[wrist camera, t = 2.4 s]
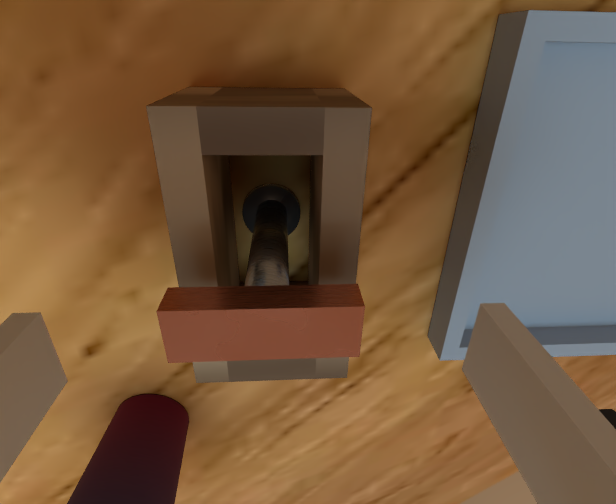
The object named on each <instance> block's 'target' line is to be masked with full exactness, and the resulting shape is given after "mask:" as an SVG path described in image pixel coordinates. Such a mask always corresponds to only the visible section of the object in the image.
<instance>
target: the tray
mask: <svg viewBox="0 0 616 504" xmlns="http://www.w3.org/2000/svg"><path fill="white" fill-rule="evenodd" d="M480 303H505V304H506V305H507V307H508V308H509V309H510V310H511V311H512V312H513V313H514V314H515V316H516V317H517V318H518V319H519V320H520V321H521V322H522V324H523V325H524V326H525V327H526V328H527V329H528V330H529V332H530V333H531V334H532V335H533V336H534V337H535V338H536V339H537V341H538V342H539V343H540V344H541V345H542V346H543V347H544V349H545V350H546V351H547V352H548V353H549V354H550V355H551V356H552V357H559V356H588V355H616V12H579V11H539V10H527V11H520V12H513V13H506V14H499V18H498V22H497V27H496V31H495V36H494V40H493V45H492V49H491V54H490V58H489V63H488V67H487V72H486V76H485V81H484V85H483V90H482V94H481V99H480V103H479V108H478V112H477V117H476V121H475V125H474V130H473V134H472V139H471V143H470V148H469V152H468V157H467V161H466V166H465V170H464V175H463V179H462V184H461V188H460V193H459V197H458V202H457V206H456V211H455V215H454V220H453V224H452V229H451V233H450V238H449V242H448V247H447V251H446V256H445V260H444V265H443V269H442V274H441V278H440V283H439V287H438V292H437V296H436V301H435V305H434V310H433V314H432V318H431V323H430V327H429V332H428V338H429V340H430V342H431V344H432V346H433V348H434V350H435V352H436V354H437V356H438V358H439V360H465V356H466V353H467V349H468V346H469V342H470V338H471V335H472V331H473V328H474V324H475V321H476V317H477V314H478V310H479V307H480Z"/></svg>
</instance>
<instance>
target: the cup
mask: <svg viewBox="0 0 616 504" xmlns="http://www.w3.org/2000/svg"><path fill="white" fill-rule="evenodd" d="M188 424H189V417H188V414H187V412H186V410H185V409H184V407H183V406H181V405H180V404H179V403H178V402H176V401H175V400H172V399H170V398H168V397H165V396H161V395H155V394H144V395H137V396H134V397H131V398H129V399H127V400H126V401H124V402H123V403H122V404H121V405H120V406H119V408H118V410H117V411H116V413H115V415H114V417H113V419H112V421H111V423H110V425H109V426H108V428H107V430H106V432H105V434H104V436H103V438H102V439H101V441H100V443H99V445H98V447H97V449H96V451H95V453H94V454H93V456H92V458H91V460H90V462H89V464H88V466H87V468H86V469H85V471H84V473H83V475H82V477H81V479H80V481H79V482H78V484H77V486H76V488H75V490H74V492H73V494H72V496H71V497H70V499H69V501H68V503H67V504H174V503H175V497H176V491H177V486H178V480H179V475H180V469H181V463H182V458H183V452H184V446H185V441H186V435H187V429H188Z"/></svg>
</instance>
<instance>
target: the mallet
mask: <svg viewBox="0 0 616 504" xmlns="http://www.w3.org/2000/svg"><path fill="white" fill-rule="evenodd" d="M242 214H243V220H244V222H245V225H246V226H247V228H248V229H249V230H250V231H251V232H252V233H253V236H252V242H251V248H250V255H249V261H248V268H247V274H246V280H245V286H222V287H173V288H167V291H166V293H165V295H164V297H163V299H162V301H161V303H160V305H159V308H158V310H157V315H158V320H159V324H160V329H161V333H162V338H163V342H164V346H165V351H166V355H167V360H168V363H180V362H211V361H241V360H272V359H303V358H334V357H359V355H360V346H361V337H362V328H363V319H364V310H365V305H364V302H363V299H362V296H361V292H360V289H359V286H358V284H320V285H289V267H288V235H289V234H290V233H292V232H293V231H294V230H295V228H296V227H297V225H298V223H299V220H300V206H299V202H298V200H297V198H296V196H295V195H294V194H293V193H292V192H291V191H290V190H289V189H287V188H286V187H283V186H281V185H277V184H265V185H261V186H259V187H257V188H255V189H253V190H252V191H251V192H250V193H249V194H248V196H247V197H246V199H245V202H244V205H243V211H242Z"/></svg>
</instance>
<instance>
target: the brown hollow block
mask: <svg viewBox="0 0 616 504" xmlns="http://www.w3.org/2000/svg"><path fill="white" fill-rule="evenodd" d="M146 108H147V114H148V119H149V125H150V130H151V136H152V141H153V147H154V152H155V158H156V163H157V169H158V174H159V180H160V185H161V191H162V196H163V202H164V207H165V213H166V218H167V224H168V229H169V235H170V240H171V246H172V251H173V257H174V262H175V268H176V273H177V279H178V284H179V287H222V286H245V283H240V279H239V268H238V256H237V245H236V233H235V221H234V210H233V198H232V187H231V175H230V164H229V155H311V157H310V209H309V261H308V281H306V282H289V285H320V284H356V275H357V264H358V254H359V243H360V232H361V221H362V211H363V200H364V189H365V178H366V168H367V157H368V146H369V135H370V125H371V114H372V107H370V106H369V105H367V104H366V103H364V102H363V101H361V100H360V99H359V98H357V97H356V96H354V95H353V94H351V93H350V92H349V91H347V90H346V89H328V88H240V87H188V88H185V89H183V90H181V91H179V92H176V93H174V94H172V95H170V96H167V97H165V98H163V99H161V100H158V101H156V102H154V103H152V104H150V105H147V106H146ZM348 361H349V357H334V358H303V359H272V360H241V361H211V362H193V367H194V372H195V378H196V383H207V382H235V381H263V380H291V379H319V378H347V372H348Z"/></svg>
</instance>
